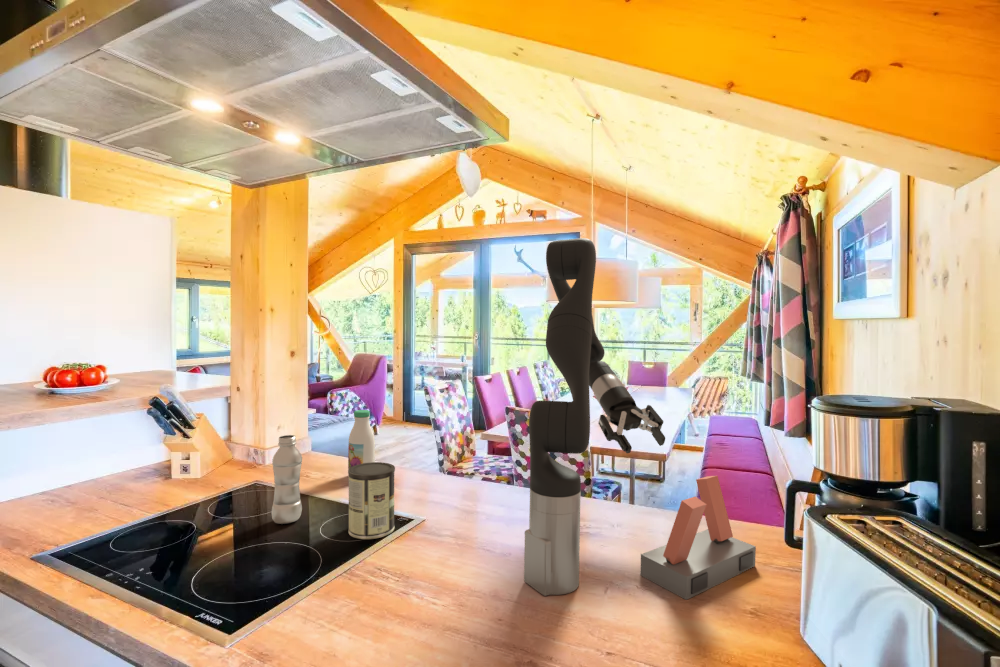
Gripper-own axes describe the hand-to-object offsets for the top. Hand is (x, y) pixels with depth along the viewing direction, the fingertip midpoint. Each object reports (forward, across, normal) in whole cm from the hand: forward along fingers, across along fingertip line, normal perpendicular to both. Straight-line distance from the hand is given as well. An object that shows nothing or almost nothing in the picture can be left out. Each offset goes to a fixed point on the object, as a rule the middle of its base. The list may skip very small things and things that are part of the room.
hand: (646, 447), depth 113 cm
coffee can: (-8, -61, +20) cm, 65 cm away
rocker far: (+22, +6, +4) cm, 23 cm away
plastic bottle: (-17, -80, +23) cm, 85 cm away
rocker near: (+24, -8, 0) cm, 25 cm away
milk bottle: (-41, -63, +44) cm, 87 cm away
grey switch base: (+26, -2, +6) cm, 26 cm away
